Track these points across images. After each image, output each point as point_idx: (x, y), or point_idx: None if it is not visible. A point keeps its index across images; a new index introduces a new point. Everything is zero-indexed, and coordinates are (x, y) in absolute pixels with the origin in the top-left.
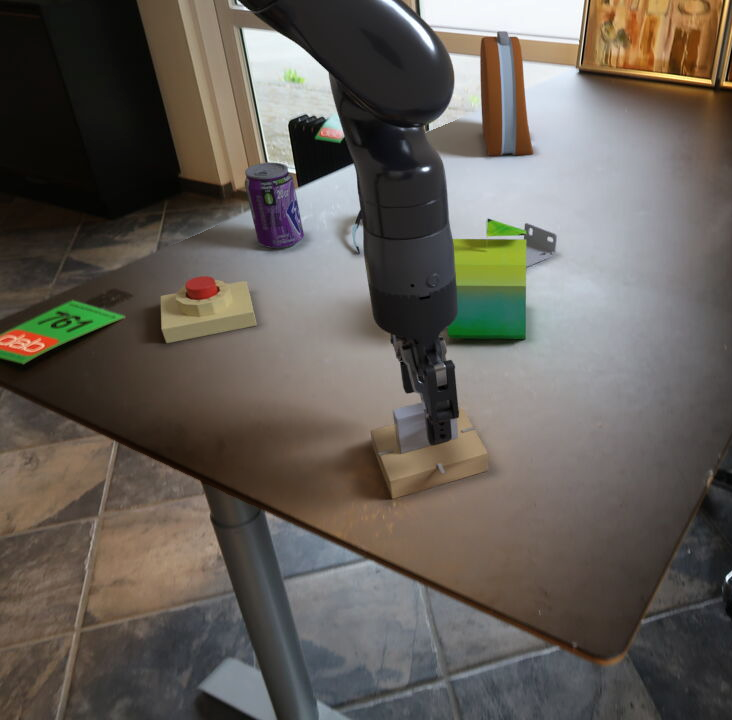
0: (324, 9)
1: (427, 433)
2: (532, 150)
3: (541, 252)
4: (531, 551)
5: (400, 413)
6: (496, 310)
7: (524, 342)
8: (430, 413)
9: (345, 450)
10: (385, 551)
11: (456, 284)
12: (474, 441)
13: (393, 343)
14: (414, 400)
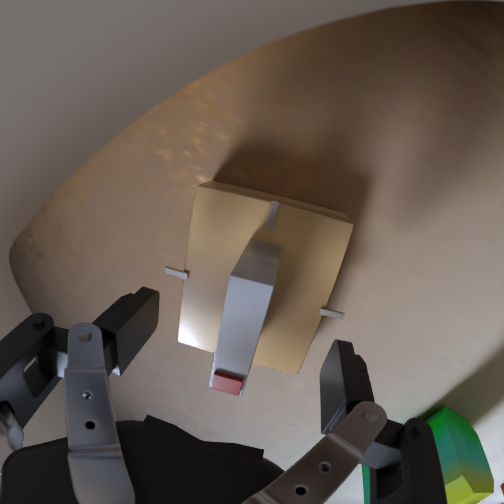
0: None
1: (140, 299)
2: (501, 488)
3: None
4: (72, 276)
5: (246, 293)
6: None
7: None
8: (25, 330)
9: (372, 171)
10: (132, 132)
11: (447, 485)
12: (208, 344)
13: (347, 469)
14: (396, 325)
